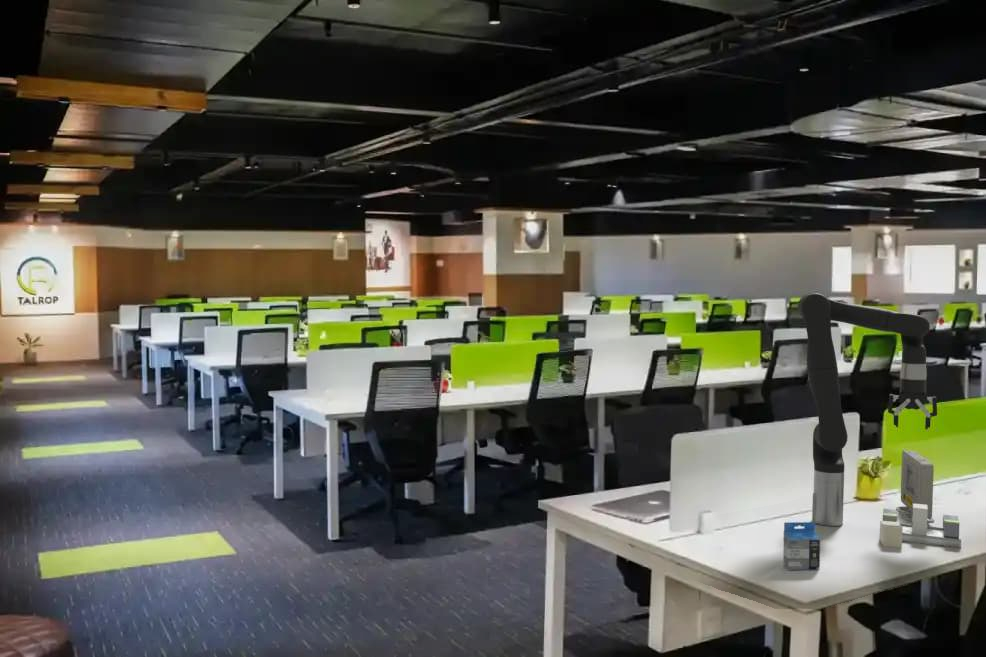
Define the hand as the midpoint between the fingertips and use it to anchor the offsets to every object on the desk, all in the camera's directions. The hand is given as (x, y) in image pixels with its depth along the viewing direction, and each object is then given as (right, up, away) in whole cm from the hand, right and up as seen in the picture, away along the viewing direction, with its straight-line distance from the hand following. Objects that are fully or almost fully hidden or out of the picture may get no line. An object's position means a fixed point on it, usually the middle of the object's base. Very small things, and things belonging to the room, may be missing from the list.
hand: (911, 427), depth 287 cm
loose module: (-3, -31, -11) cm, 33 cm away
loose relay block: (-14, -33, -17) cm, 40 cm away
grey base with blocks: (-3, -33, -11) cm, 34 cm away
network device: (+9, -32, +17) cm, 37 cm away
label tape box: (-50, -34, -42) cm, 73 cm away
